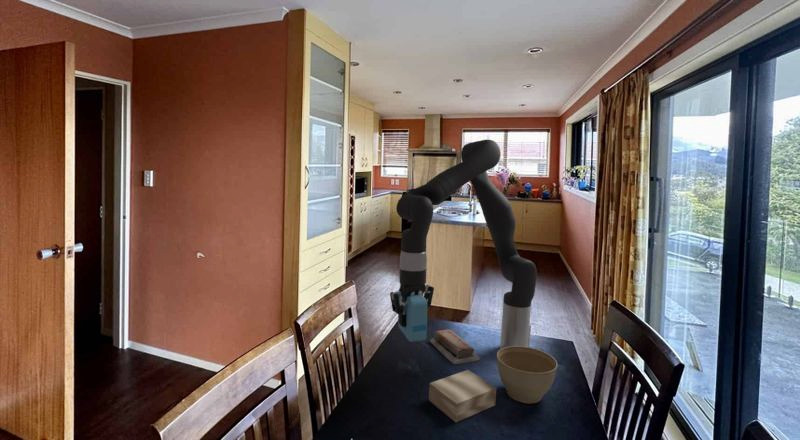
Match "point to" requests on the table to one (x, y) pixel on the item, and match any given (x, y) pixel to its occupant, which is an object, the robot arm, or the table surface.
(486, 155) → the robot arm
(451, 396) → the stand
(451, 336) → the packaged product
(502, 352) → the planter bowl
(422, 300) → the blue product box
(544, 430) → the table surface
